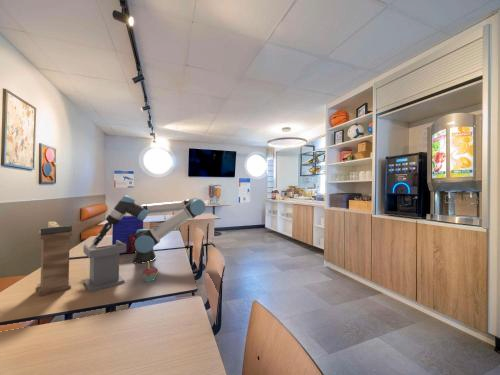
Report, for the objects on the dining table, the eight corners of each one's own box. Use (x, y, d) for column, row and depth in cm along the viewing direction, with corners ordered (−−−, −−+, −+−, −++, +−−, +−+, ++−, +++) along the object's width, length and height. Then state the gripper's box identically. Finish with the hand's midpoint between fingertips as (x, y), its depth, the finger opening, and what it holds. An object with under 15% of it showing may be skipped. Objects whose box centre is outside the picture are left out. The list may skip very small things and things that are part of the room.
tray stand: (82, 283, 120) (83, 245, 120) (116, 274, 132) (117, 240, 132) (88, 292, 110) (89, 250, 110) (125, 282, 122) (126, 244, 122)
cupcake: (151, 283, 121) (152, 262, 121) (138, 282, 123) (139, 261, 123) (160, 277, 130) (161, 257, 130) (148, 276, 132) (148, 256, 132)
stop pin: (37, 227, 122) (37, 222, 122) (64, 225, 131) (64, 220, 131) (40, 234, 106) (40, 228, 106) (71, 231, 115) (71, 226, 115)
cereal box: (141, 249, 186) (142, 214, 186) (142, 250, 181) (143, 215, 181) (111, 252, 174) (112, 215, 174) (111, 254, 169) (112, 216, 169)
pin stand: (37, 286, 114) (38, 230, 114) (66, 280, 123) (68, 228, 123) (39, 296, 105) (40, 235, 105) (70, 288, 114) (72, 232, 114)
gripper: (110, 211, 149) (89, 237, 144) (107, 217, 127) (82, 249, 122) (121, 216, 152) (101, 242, 147) (119, 223, 130) (96, 255, 125)
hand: (92, 245), depth 135 cm, fingers open, 13 cm apart
